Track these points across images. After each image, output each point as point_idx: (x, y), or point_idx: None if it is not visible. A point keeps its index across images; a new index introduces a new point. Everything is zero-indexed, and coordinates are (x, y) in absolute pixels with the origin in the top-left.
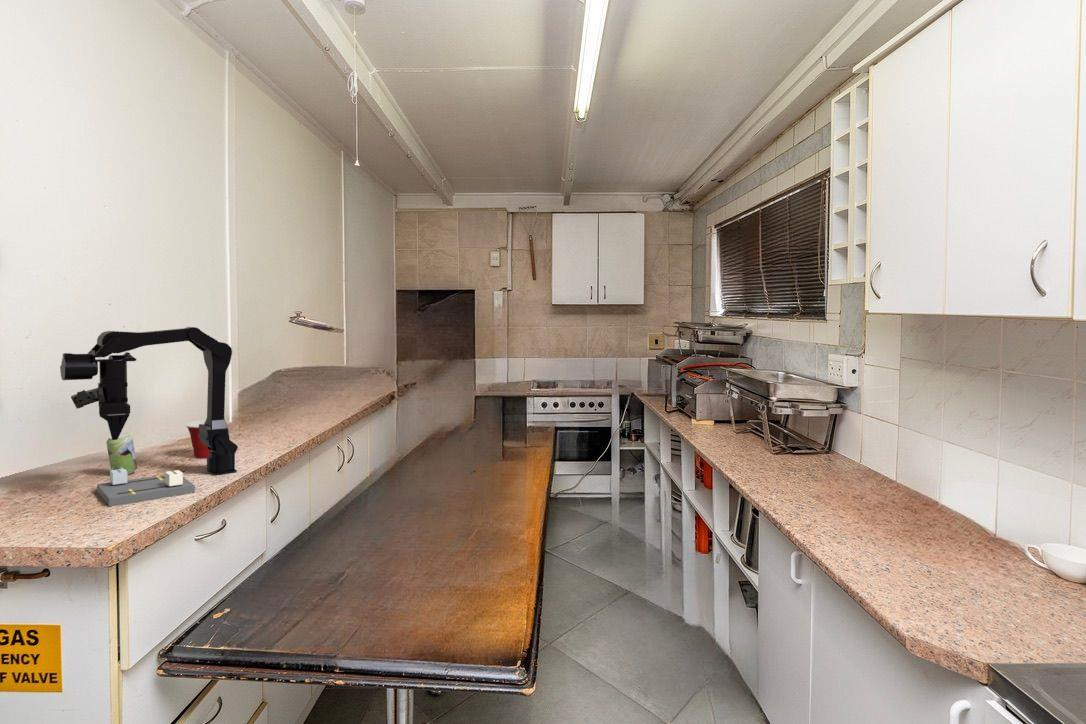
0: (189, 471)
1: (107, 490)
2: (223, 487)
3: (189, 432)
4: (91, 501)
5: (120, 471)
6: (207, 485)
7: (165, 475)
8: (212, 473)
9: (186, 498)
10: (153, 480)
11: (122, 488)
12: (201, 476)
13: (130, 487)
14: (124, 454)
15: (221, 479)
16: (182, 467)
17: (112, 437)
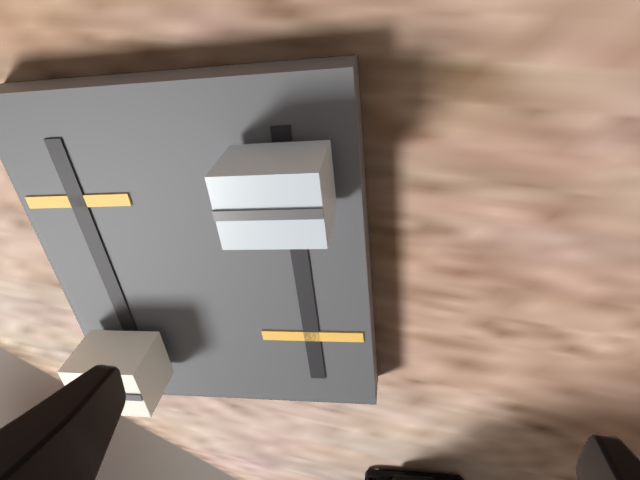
0: (519, 439)
1: (150, 105)
2: (165, 438)
3: None
4: (138, 11)
5: (228, 219)
6: (219, 417)
7: (136, 360)
8: (376, 474)
9: (53, 331)
10: (277, 308)
11: (166, 174)
12: (385, 441)
13: (172, 208)
14: None
15: (289, 465)
16: (635, 444)
17: (68, 388)
